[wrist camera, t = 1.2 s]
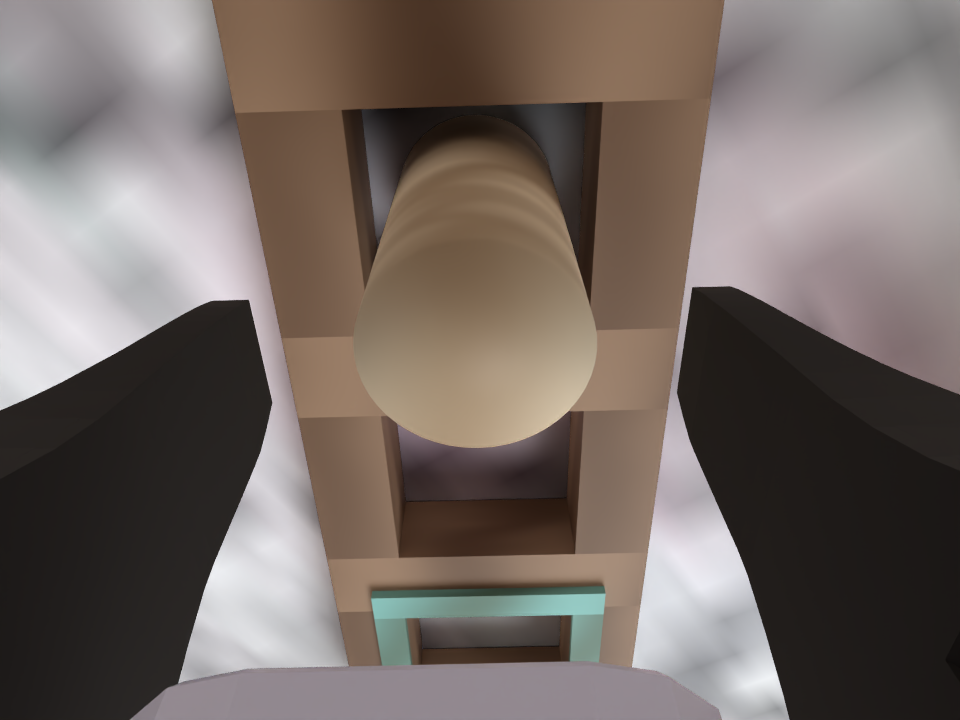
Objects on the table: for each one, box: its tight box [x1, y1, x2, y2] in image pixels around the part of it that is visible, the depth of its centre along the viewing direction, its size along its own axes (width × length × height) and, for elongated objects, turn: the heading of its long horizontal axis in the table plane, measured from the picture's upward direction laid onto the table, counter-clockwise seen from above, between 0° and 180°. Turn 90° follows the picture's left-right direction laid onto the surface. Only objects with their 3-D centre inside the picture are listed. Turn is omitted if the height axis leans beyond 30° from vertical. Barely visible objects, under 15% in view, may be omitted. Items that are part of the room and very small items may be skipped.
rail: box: [212, 0, 724, 667], centre depth 21 cm, size 10×26×3 cm, turn 2°
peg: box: [353, 115, 597, 448], centre depth 15 cm, size 4×4×8 cm
